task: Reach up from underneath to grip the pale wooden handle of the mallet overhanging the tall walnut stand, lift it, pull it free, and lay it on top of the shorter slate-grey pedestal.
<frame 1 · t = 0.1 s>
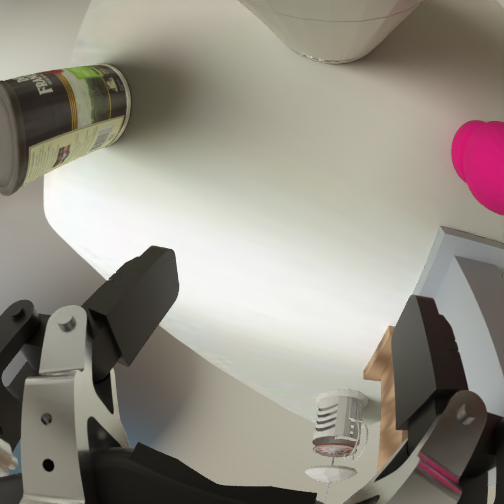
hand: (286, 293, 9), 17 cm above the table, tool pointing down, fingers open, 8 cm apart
french press: (344, 399, 42), on the table
pepper mill: (477, 153, 18), on the table
walnut stand: (407, 354, 32), on the table
slate pedestal: (460, 275, 24), on the table
coffee can: (99, 105, 25), on the table
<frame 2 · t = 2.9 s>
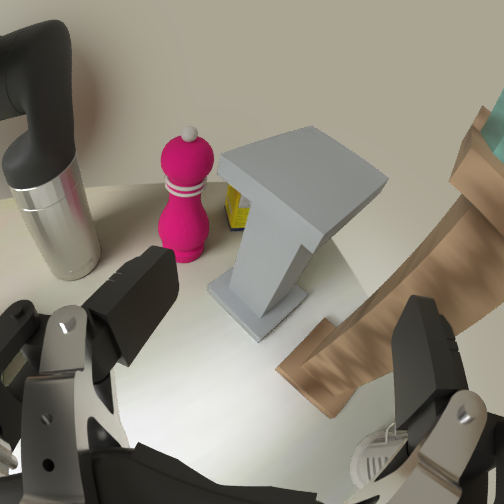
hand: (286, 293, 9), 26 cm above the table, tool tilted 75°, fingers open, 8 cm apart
french press: (376, 457, 27), on the table
pepper mill: (183, 247, 42), on the table
walnut stand: (325, 368, 34), on the table
supplement box: (243, 218, 48), on the table
slate pedestal: (257, 295, 39), on the table
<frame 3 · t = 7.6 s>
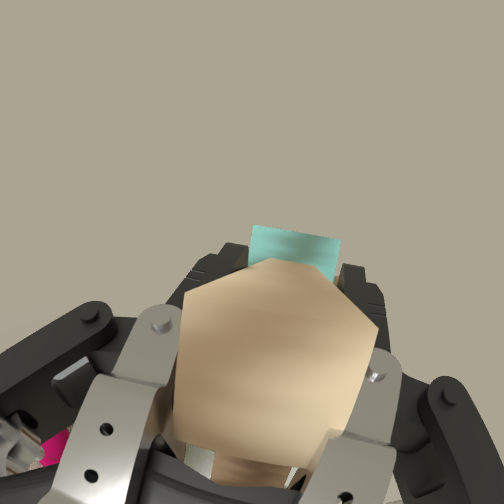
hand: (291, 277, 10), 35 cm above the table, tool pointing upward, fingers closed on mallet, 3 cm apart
pepper mill: (56, 458, 24), on the table
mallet: (283, 309, 17), point 32 cm above the table, touching gripper, walnut stand
when the fingers open (27 cm above the table, at t = 17.1 s): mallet stays where it is, resting on slate pedestal.
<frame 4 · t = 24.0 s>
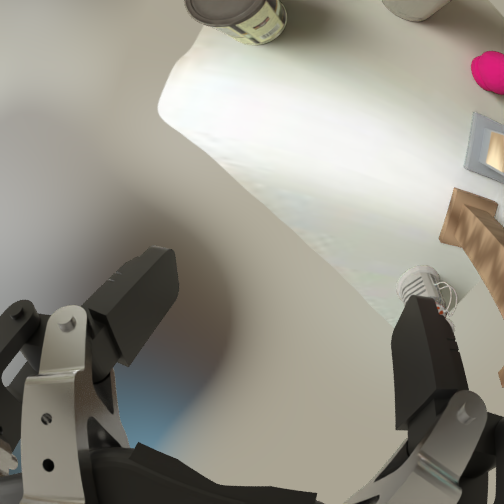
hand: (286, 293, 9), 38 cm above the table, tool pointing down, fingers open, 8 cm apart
french press: (421, 282, 48), on the table
pepper mill: (484, 73, 25), on the table
walnut stand: (467, 219, 39), on the table
slate pedestal: (490, 148, 31), on the table
coffee can: (255, 19, 33), on the table
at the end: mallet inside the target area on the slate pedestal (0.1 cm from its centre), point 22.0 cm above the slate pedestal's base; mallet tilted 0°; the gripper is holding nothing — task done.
